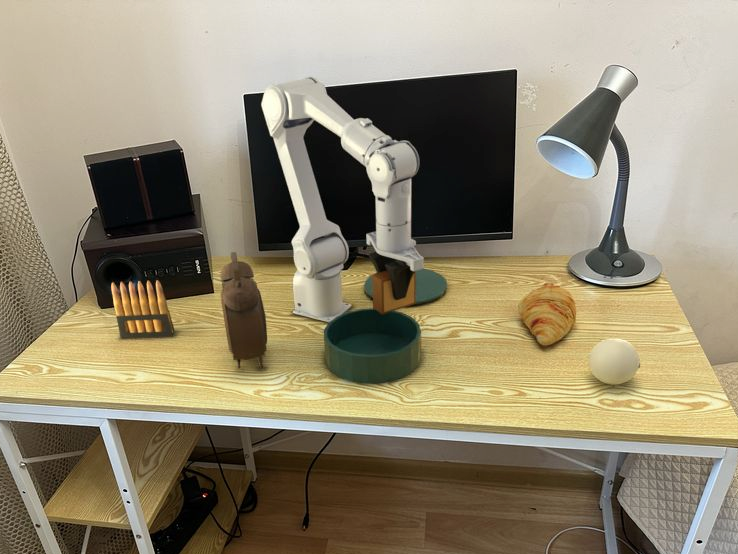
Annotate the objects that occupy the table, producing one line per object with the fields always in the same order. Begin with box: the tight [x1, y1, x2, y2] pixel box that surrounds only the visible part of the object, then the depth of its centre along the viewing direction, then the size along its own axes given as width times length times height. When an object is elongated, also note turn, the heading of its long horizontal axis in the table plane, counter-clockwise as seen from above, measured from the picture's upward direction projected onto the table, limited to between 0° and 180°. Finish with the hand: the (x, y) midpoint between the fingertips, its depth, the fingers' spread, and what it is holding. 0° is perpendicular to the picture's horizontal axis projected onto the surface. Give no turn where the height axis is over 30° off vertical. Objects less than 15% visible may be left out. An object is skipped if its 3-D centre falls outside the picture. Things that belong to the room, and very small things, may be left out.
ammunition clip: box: [111, 279, 176, 340], centre depth 124 cm, size 11×2×12 cm, turn 86°
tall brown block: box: [371, 270, 416, 314], centre depth 111 cm, size 3×7×6 cm, turn 117°
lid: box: [363, 268, 448, 305], centre depth 135 cm, size 17×17×4 cm
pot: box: [323, 307, 422, 384], centre depth 113 cm, size 17×17×5 cm
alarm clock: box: [219, 251, 268, 370], centre depth 112 cm, size 14×7×20 cm, turn 9°
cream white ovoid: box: [588, 337, 641, 386], centre depth 102 cm, size 10×7×7 cm
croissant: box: [517, 282, 577, 346], centre depth 118 cm, size 21×10×8 cm, turn 162°
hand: (394, 294), depth 111 cm, fingers closed on tall brown block, 3 cm apart
